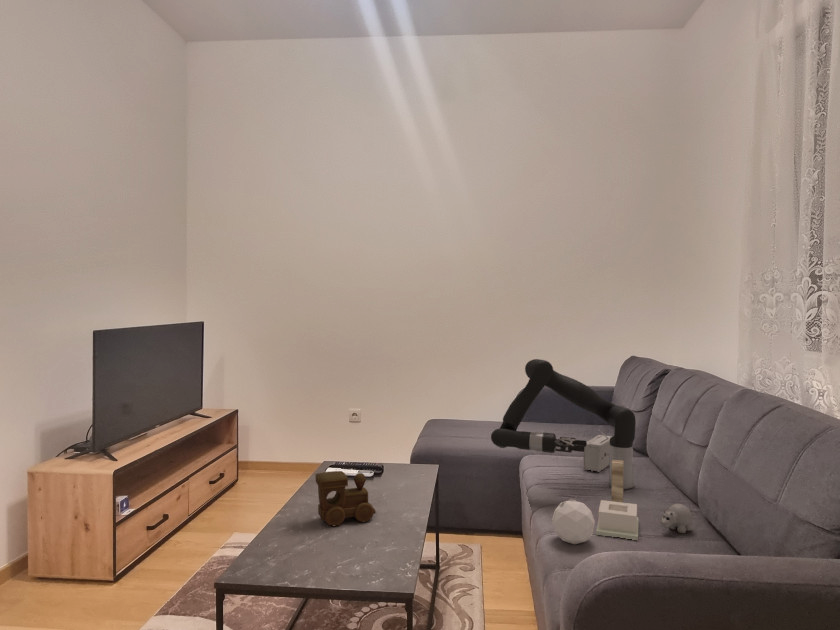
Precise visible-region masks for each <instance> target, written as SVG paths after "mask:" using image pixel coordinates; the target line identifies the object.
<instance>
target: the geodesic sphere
mask: <svg viewBox="0 0 840 630" xmlns="http://www.w3.org/2000/svg"><path fill="white" fill-rule="evenodd" d="M553 511H554V512H553V514H552V519H551V522H552V523H551V524H552V525H553V529H554V531H555V534H557V536H558V537H559V538H560V539H561V541H563V542H566V543H568V544H572V545H577V544H581V543H585V542H587V541H588V540H589V539H590V537H591V536H592V535H593V534H594V528H595V524H596V522H595V518H594V515H593V512H592V510H591V509H590V508H589V507H588V506H587V505H586V504H585V503H583V502H581V501H578V500H575V499H571V498H569V500H565V501H562V502H560V503H559V504H558V506H557V507H556V508H555V509H554V510H553Z"/></svg>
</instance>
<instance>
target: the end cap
mask: <svg viewBox="0 0 840 630" xmlns="http://www.w3.org/2000/svg"><path fill="white" fill-rule="evenodd" d="M595 532H596V533H595V536H598V535H603V536H602V537H605V536H612V537H611V538H613V537H620V538H626V539H625V540H627V539H632V540H631V541H634V540H637V541H636V542H639V517H638V504H637V503H627V502H623V503H621V502H613V501H611V500H604V499H601V500H600V504H599V508H598V521H597V525H596V530H595ZM620 538H619V539H620Z"/></svg>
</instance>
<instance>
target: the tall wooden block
mask: <svg viewBox="0 0 840 630" xmlns="http://www.w3.org/2000/svg"><path fill="white" fill-rule="evenodd" d="M623 466H624V461H621V460H612V487H611V500H610V501H613V502H621V503H624V489H623Z"/></svg>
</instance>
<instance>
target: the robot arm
mask: <svg viewBox="0 0 840 630" xmlns="http://www.w3.org/2000/svg"><path fill="white" fill-rule="evenodd" d="M524 367H525V368H524V373H525V375H526V376H527V377H528V382H527V383H526V385H525V386H524V388H523V389H522V390H521V392H519V394H518V395H517V396H516V397H515V398H514V399H513V400H512V401H511V403H510V405H509V407H508V408H507V410H506V411H505V413H504V415H503V417H502V423H501V425H500V427H499V428H496V429H494V430H493V431H492V432H491V434H490V440H491V442H492V443H493V445H495V446H497V447H498V448H500V449H505V448H506V449H507V448H508V447H509V448H516V449H519V450H525V451H533V452H540V453H547V454H549V453H550V454H554V453H555V452H562V453H572V452H581V453H583V452H584V447H586V446H587V440H583V439H576V437H569V436H568V437H567V436H566V437H565V436H560V437H559V438H556V437H557V435H556V434H555V433H552V432H543V431H542V432H541V431H532V432H531V431H524V430H523V431H519V430H518V427H519V426H520V425H521V423H522V421H523V419H524V417H525V416H526V414H527V412H528V410H529V409H530V407H531V405H532V404H533V402H534V401H535V399H536V398H537V397H538V395H539V394H540V393H541V391H542V390H543V389H544V387H547V388H548V389H551V390H552V391H554V392H555V393H557V394H558V395H559V396H561V397H562V398H563V399H565V400H567V401H568V402H570V403H572V404H573V405H575V406H576V407H579V408H581V409H582V410H585V411H587V412H589V413H592V414H594V415H596V416H597V417H599V418H600V419H602V420H603V421H605V422H606V423H607V424H608V425H610V426H612V428H614V435H613V436H612V437H611V438H610V454H609V466H608V467H609V470H608V471H609V473H608V475H609V477H608V478H609V479H608V482H609V483H608V484H609V486H610V488H612V460H621V461H624V466H623V490H629V489H632V488H635V477H636V476H635V474H636V472H635V470H636V469H635V467H636V466H635V464H634V463H633V459H634V458H633V455H634V454H633V452H634V450H633V448H634V447H633V445H634V441H635V437H636V423H637V422H636V421H637V419H636V415H635V413H634V412H633V411H632V410H631V409H628V408H627V407H623V406H621V405H616V404H615V403H612V402H610V401H608V400H606V399H604V398H603V397H601V396H600V395H599V394H598V393H597V392H596V391H595V390H594V389H593V388H591V387H590V386H588V385H586V384H584V383H583V382H581V381H579V380H577V379H575V378H572V377H569V376H567V375H565V374H564V375H563V374H561V373H559V372H557V371H555V370H554V367H553V365H552V363H550V361H547V360H546V359H545V360H544V359H539V358H536V359H531V360H529V361H528V362H526V364H525V366H524Z"/></svg>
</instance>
